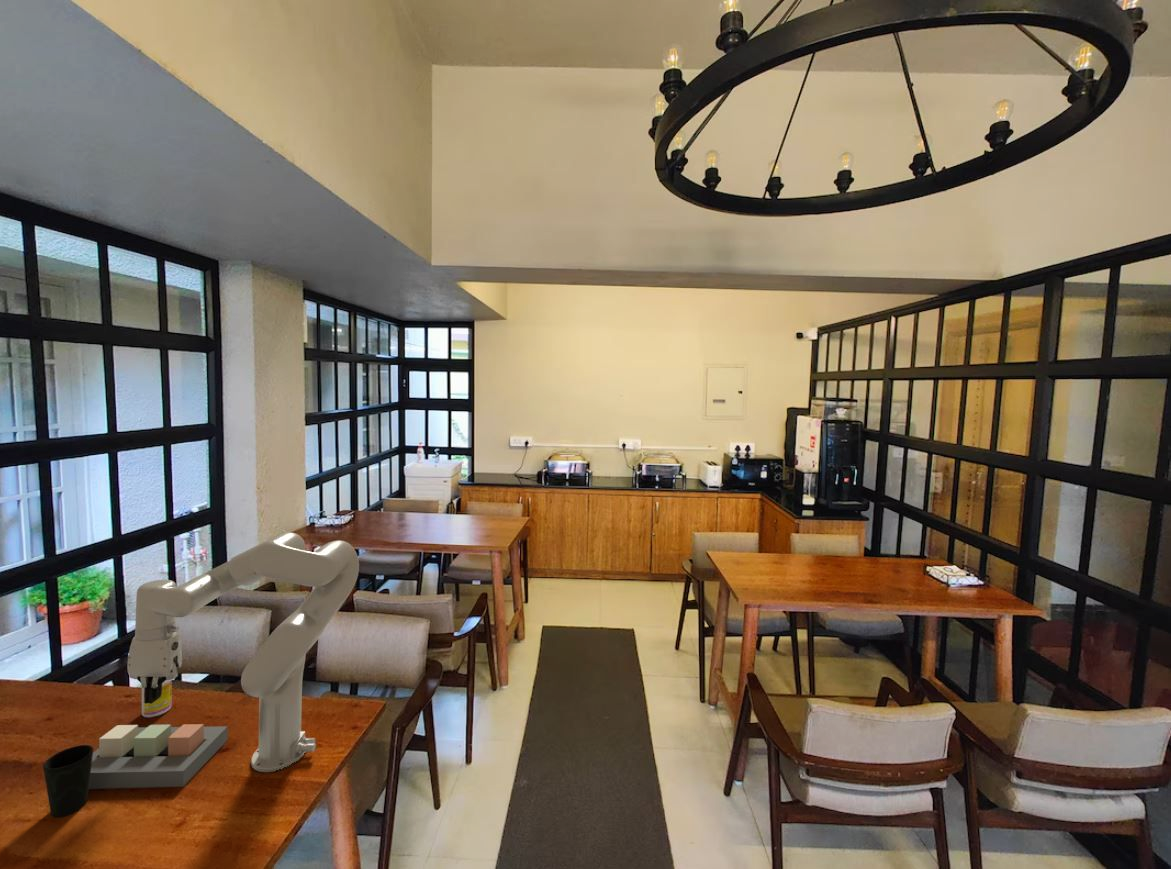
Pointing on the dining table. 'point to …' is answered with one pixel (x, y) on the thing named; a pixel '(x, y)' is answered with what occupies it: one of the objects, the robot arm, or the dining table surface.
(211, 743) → the console
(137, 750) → the green button
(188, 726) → the terracotta button
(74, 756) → the cup
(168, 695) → the supplement bottle
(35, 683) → the dining table surface
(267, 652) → the robot arm
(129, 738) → the cream button
